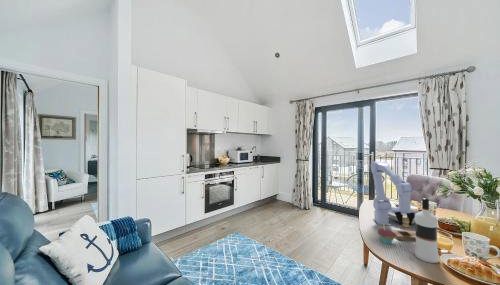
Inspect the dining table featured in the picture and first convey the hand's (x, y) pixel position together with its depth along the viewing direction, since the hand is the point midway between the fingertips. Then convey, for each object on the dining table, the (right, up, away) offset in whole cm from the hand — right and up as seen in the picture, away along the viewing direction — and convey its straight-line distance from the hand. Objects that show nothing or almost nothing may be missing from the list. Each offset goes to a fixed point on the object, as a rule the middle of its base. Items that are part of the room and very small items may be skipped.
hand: (404, 224), depth 118 cm
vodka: (-7, -8, -22) cm, 24 cm away
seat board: (+3, -8, 0) cm, 8 cm away
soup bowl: (+17, -8, +23) cm, 30 cm away
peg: (0, -3, 0) cm, 3 cm away
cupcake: (-15, -8, -5) cm, 18 cm away
